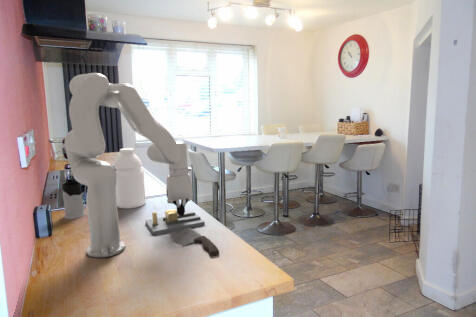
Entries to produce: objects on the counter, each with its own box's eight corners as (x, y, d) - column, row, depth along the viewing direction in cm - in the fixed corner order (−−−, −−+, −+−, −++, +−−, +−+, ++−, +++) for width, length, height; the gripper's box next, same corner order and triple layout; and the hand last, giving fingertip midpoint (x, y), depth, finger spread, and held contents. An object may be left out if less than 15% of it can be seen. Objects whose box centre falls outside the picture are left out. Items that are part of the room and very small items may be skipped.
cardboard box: (178, 221, 142) (177, 212, 142) (168, 223, 141) (168, 213, 140) (174, 218, 147) (174, 208, 146) (165, 219, 145) (164, 210, 144)
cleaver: (225, 253, 117) (225, 247, 117) (199, 261, 112) (199, 255, 112) (186, 228, 141) (186, 223, 141) (164, 234, 136) (163, 229, 136)
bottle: (130, 199, 183) (126, 146, 178) (151, 202, 177) (147, 147, 172) (110, 207, 170) (105, 150, 165) (132, 210, 164) (127, 151, 159)
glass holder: (62, 215, 160) (58, 183, 157) (94, 208, 169) (90, 178, 166) (67, 220, 153) (63, 187, 150) (100, 212, 162) (97, 181, 159)
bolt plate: (204, 225, 143) (204, 209, 142) (153, 235, 134) (152, 219, 133) (193, 215, 155) (192, 201, 154) (145, 223, 146) (144, 208, 145)
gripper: (193, 168, 149) (195, 209, 152) (158, 172, 142) (161, 215, 145) (199, 171, 142) (201, 214, 145) (162, 176, 135) (165, 221, 139)
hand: (181, 214), depth 145 cm, fingers closed
